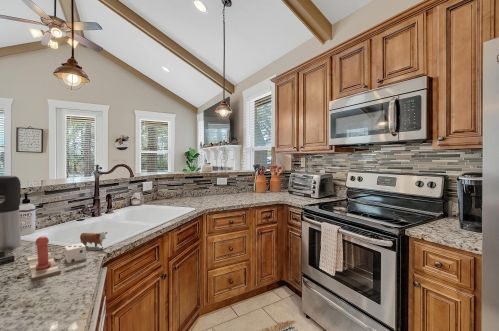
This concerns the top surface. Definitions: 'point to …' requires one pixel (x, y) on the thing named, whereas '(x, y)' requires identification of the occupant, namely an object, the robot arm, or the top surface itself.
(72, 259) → the die
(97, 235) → the bull figurine
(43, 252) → the pawn
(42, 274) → the track board
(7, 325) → the top surface
